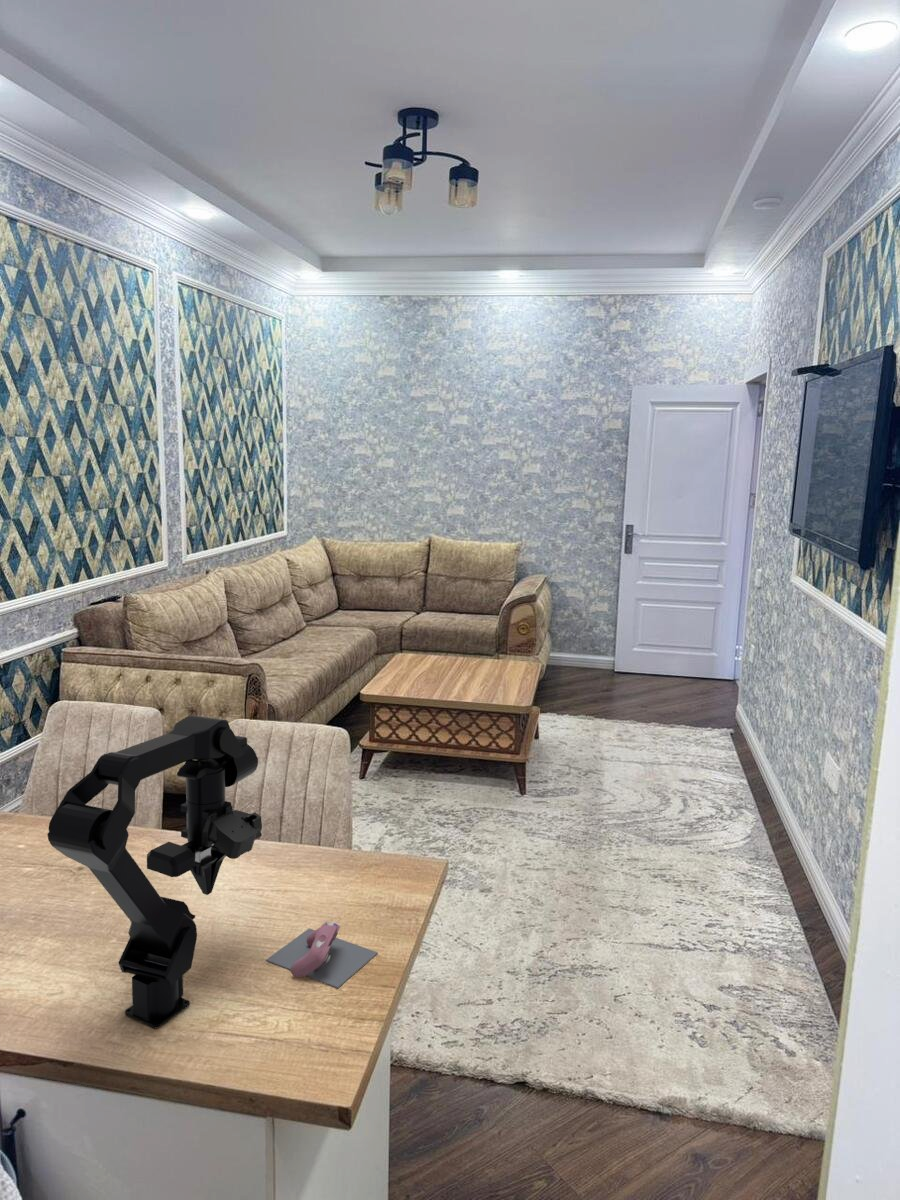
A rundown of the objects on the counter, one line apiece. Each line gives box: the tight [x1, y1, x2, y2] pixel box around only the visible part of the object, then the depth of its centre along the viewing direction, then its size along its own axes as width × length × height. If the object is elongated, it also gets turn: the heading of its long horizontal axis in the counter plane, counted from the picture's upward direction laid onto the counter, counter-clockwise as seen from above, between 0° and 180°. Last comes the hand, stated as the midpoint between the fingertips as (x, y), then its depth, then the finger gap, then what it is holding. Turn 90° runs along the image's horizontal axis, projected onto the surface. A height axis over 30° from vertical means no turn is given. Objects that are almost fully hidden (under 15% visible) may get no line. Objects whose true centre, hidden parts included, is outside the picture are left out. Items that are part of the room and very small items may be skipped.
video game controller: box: [290, 920, 341, 978], centre depth 134 cm, size 10×5×7 cm, turn 173°
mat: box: [265, 927, 379, 989], centre depth 136 cm, size 11×14×1 cm
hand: (207, 893), depth 131 cm, fingers closed
